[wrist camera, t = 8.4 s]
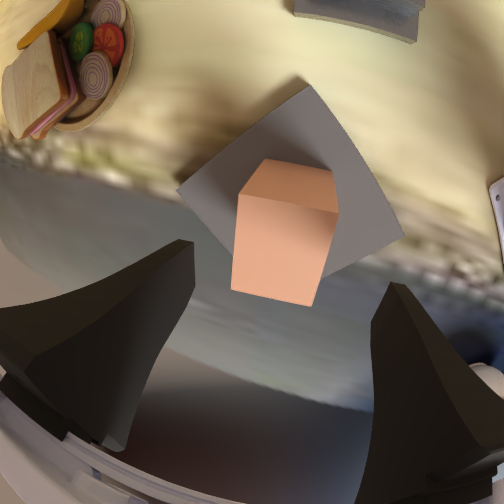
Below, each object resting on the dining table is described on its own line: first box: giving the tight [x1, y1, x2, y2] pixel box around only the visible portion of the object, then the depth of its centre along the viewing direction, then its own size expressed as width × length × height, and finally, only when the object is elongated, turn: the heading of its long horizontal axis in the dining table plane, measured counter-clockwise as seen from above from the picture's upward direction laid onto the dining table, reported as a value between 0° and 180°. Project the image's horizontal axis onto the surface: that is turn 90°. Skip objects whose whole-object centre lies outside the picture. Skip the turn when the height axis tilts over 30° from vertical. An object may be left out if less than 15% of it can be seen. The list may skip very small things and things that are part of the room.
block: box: [231, 158, 339, 307], centre depth 15 cm, size 5×4×6 cm
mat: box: [176, 85, 405, 301], centre depth 18 cm, size 11×11×1 cm
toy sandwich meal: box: [2, 0, 135, 140], centre depth 13 cm, size 12×14×5 cm
